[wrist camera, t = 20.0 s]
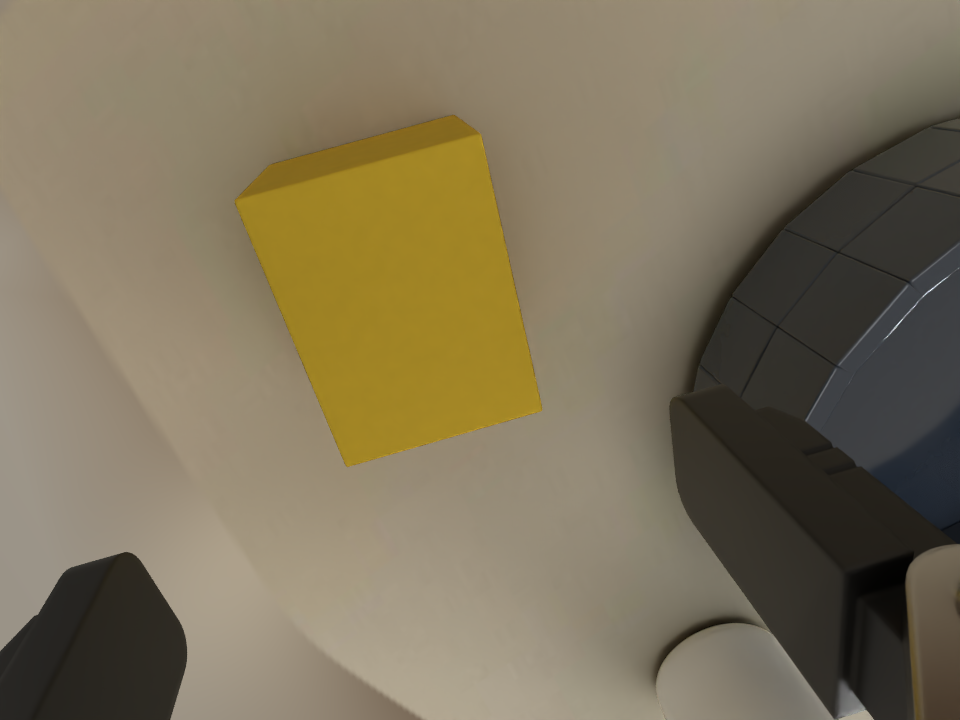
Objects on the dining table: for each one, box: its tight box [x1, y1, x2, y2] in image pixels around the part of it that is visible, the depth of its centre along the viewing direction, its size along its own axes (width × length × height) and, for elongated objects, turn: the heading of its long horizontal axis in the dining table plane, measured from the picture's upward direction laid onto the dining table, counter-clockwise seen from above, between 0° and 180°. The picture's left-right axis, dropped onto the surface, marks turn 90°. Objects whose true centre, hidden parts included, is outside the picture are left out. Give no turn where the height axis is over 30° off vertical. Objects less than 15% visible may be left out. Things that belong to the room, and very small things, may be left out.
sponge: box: [235, 115, 542, 467], centre depth 14 cm, size 4×6×4 cm
